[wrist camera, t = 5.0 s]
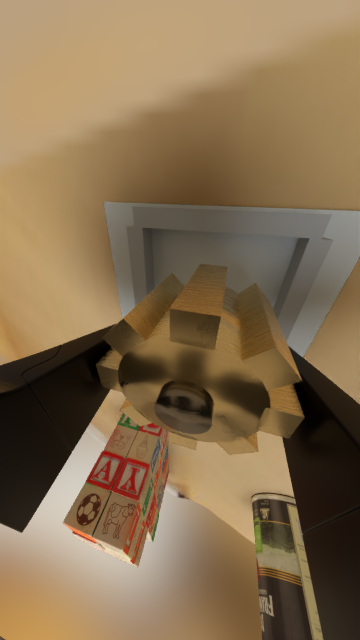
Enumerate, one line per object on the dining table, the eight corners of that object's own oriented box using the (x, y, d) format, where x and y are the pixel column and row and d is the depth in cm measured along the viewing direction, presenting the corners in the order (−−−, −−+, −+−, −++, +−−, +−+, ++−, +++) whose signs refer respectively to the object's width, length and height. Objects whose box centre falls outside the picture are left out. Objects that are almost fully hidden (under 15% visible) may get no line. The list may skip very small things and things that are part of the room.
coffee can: (249, 507, 34) (259, 657, 23) (253, 486, 29) (267, 666, 18) (310, 524, 32) (356, 706, 20) (326, 505, 27) (400, 734, 15)
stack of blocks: (169, 472, 36) (145, 575, 26) (141, 463, 37) (107, 557, 27) (167, 413, 25) (122, 555, 14) (127, 403, 26) (59, 527, 16)
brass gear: (295, 273, 7) (385, 361, 3) (253, 381, 11) (265, 492, 6) (144, 257, 8) (54, 302, 4) (151, 358, 12) (105, 437, 8)
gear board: (368, 212, 9) (410, 211, 7) (266, 408, 19) (270, 433, 17) (113, 202, 12) (88, 200, 10) (137, 377, 22) (127, 395, 19)
